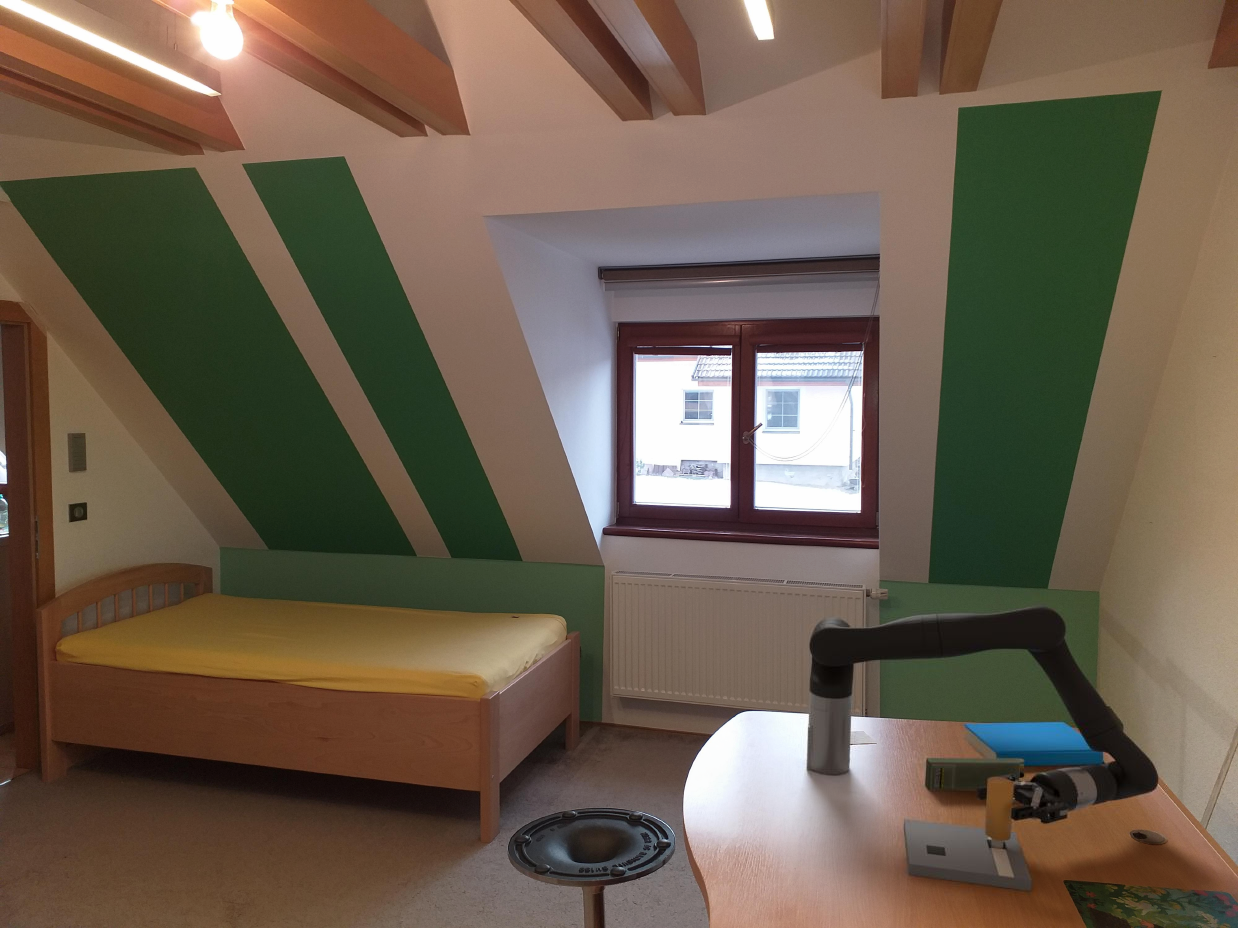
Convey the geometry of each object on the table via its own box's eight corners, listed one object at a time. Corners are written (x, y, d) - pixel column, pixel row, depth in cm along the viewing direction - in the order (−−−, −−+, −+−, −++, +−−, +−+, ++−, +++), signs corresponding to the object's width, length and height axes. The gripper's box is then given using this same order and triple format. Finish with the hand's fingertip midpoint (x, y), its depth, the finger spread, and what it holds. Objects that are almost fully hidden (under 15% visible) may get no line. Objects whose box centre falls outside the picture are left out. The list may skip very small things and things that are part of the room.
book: (963, 723, 225) (1062, 719, 227) (962, 740, 225) (1061, 737, 227) (997, 752, 208) (1104, 748, 210) (997, 771, 208) (1103, 766, 210)
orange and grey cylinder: (985, 859, 169) (989, 785, 167) (982, 847, 173) (986, 775, 172) (1011, 862, 168) (1015, 788, 166) (1007, 850, 172) (1011, 778, 171)
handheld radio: (923, 784, 200) (1039, 785, 200) (928, 792, 196) (1046, 793, 196) (925, 755, 199) (1042, 756, 199) (930, 762, 195) (1049, 763, 195)
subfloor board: (908, 874, 164) (909, 862, 164) (903, 828, 180) (904, 817, 180) (1030, 890, 159) (1031, 878, 159) (1014, 841, 175) (1015, 831, 175)
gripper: (1035, 756, 181) (968, 768, 175) (1096, 786, 168) (1026, 801, 162) (1033, 792, 182) (966, 806, 176) (1093, 826, 168) (1023, 842, 163)
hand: (995, 803), depth 169 cm, fingers open, 8 cm apart
